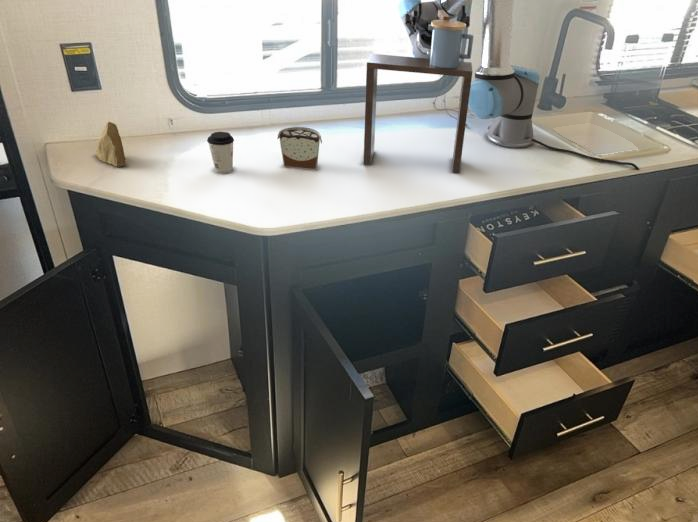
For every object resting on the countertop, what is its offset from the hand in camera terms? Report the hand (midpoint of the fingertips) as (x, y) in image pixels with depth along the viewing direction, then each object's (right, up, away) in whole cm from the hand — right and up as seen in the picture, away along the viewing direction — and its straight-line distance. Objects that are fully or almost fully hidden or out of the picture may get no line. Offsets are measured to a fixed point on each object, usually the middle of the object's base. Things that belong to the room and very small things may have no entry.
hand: (441, 9), depth 161 cm
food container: (-39, -39, +11) cm, 56 cm away
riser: (-8, -37, +18) cm, 42 cm away
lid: (+1, -4, -1) cm, 4 cm away
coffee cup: (-60, -42, +4) cm, 73 cm away
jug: (+1, -14, +1) cm, 14 cm away
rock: (-91, -40, +4) cm, 99 cm away
